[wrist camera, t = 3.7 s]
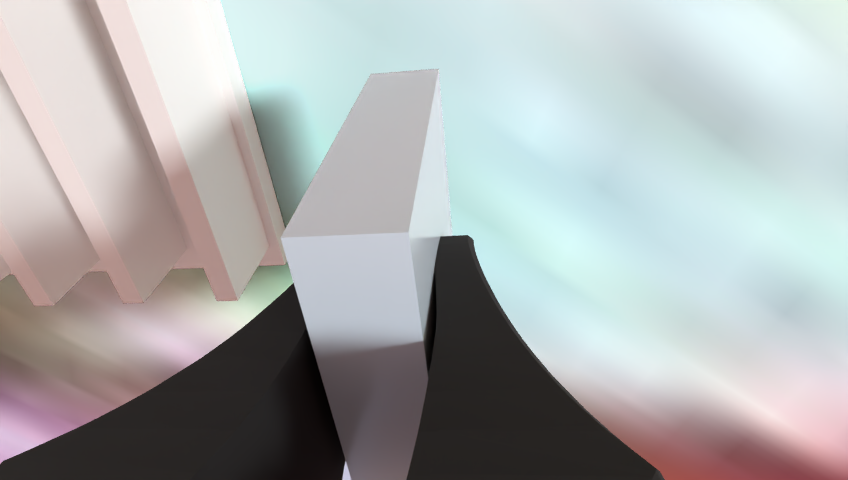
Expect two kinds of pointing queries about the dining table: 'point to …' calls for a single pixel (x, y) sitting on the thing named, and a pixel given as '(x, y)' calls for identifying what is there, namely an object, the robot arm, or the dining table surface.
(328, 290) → the plate tile
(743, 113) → the dining table surface
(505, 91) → the dining table surface
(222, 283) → the dish rack
